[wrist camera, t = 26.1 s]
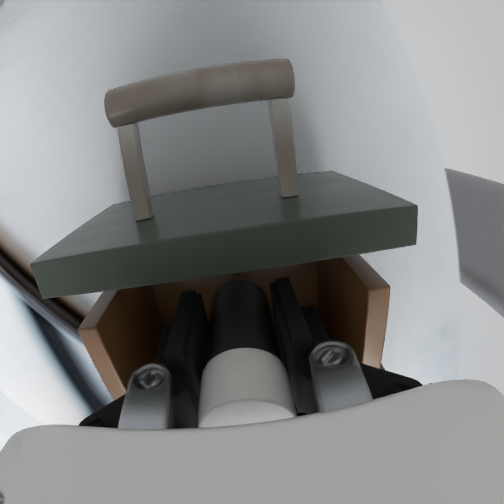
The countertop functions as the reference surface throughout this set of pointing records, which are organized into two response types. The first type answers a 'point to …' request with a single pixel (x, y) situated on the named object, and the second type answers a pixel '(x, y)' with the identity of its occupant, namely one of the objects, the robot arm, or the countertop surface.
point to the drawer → (224, 231)
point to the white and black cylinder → (243, 361)
